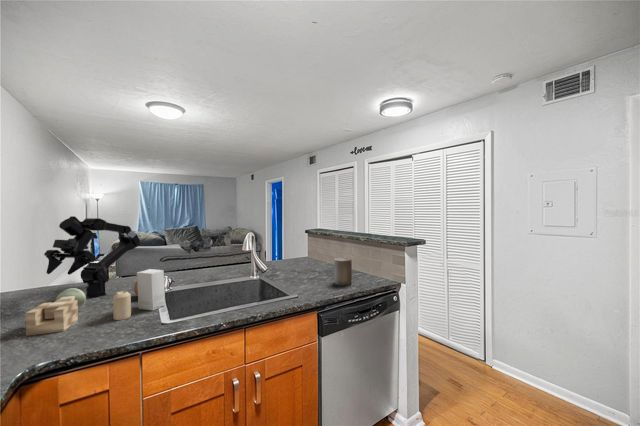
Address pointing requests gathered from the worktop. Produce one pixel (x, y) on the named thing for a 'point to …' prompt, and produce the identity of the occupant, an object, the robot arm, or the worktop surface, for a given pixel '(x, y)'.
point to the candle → (122, 305)
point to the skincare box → (151, 289)
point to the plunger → (63, 298)
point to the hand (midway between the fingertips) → (58, 274)
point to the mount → (59, 323)
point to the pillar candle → (343, 271)
